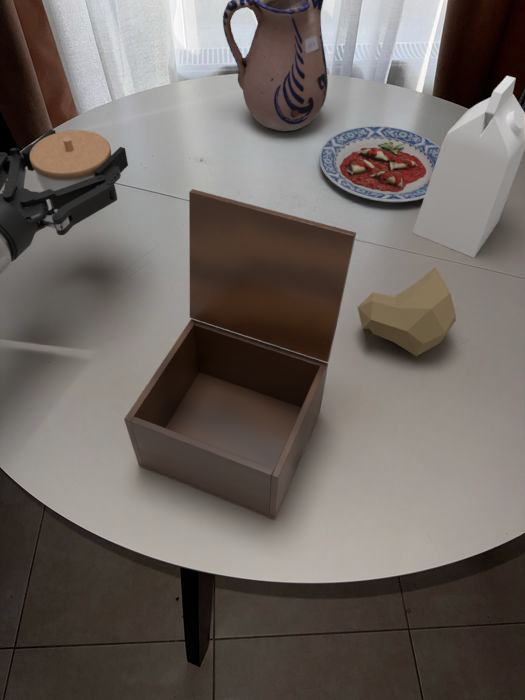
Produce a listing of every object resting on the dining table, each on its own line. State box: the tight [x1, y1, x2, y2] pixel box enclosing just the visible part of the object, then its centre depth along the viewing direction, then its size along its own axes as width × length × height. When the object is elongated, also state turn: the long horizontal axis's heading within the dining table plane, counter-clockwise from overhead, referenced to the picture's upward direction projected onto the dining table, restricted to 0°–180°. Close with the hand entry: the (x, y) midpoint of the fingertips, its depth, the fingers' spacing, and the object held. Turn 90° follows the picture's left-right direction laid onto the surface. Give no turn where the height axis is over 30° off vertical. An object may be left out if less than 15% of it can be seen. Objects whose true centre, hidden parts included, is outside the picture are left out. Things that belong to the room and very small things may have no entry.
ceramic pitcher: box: [222, 0, 329, 132], centre depth 117 cm, size 18×21×25 cm
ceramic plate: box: [319, 126, 441, 203], centre depth 114 cm, size 26×26×3 cm
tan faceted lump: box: [356, 266, 457, 357], centre depth 84 cm, size 15×11×12 cm
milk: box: [412, 75, 525, 259], centre depth 94 cm, size 12×12×26 cm
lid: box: [188, 188, 357, 363], centre depth 66 cm, size 17×19×1 cm
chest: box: [123, 318, 329, 521], centre depth 72 cm, size 17×19×11 cm
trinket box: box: [30, 129, 112, 191], centre depth 81 cm, size 11×11×9 cm
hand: (89, 147), depth 82 cm, fingers closed on trinket box, 11 cm apart
